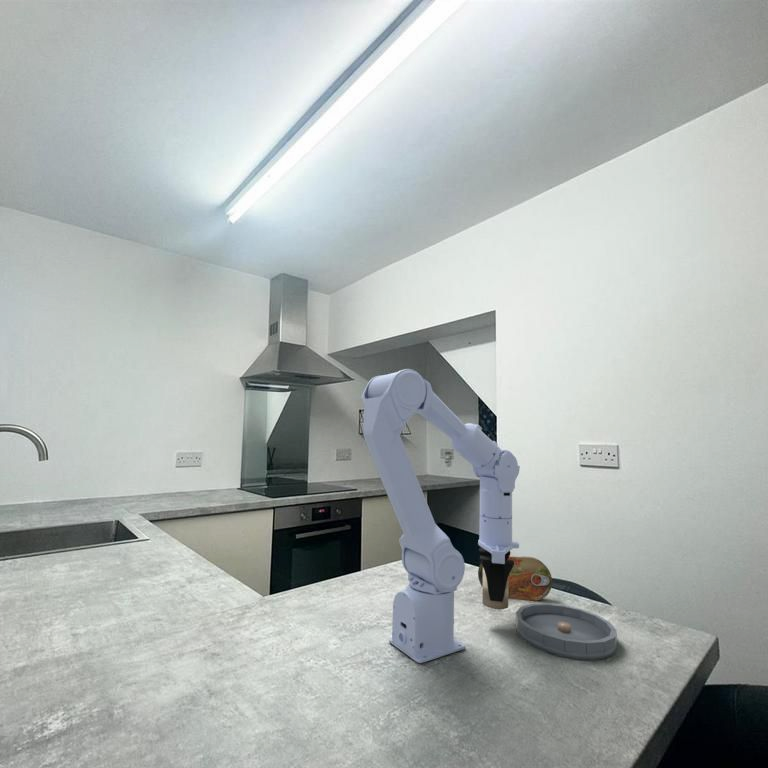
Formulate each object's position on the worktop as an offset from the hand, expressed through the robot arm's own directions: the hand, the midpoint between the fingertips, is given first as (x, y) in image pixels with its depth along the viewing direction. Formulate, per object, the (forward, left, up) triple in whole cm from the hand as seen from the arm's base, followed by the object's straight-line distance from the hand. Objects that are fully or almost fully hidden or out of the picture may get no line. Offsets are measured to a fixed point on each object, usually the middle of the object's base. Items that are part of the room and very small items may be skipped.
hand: (495, 595), depth 74 cm
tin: (+16, +9, -6) cm, 19 cm away
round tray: (+8, -8, -5) cm, 13 cm away
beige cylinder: (0, 0, -2) cm, 2 cm away
